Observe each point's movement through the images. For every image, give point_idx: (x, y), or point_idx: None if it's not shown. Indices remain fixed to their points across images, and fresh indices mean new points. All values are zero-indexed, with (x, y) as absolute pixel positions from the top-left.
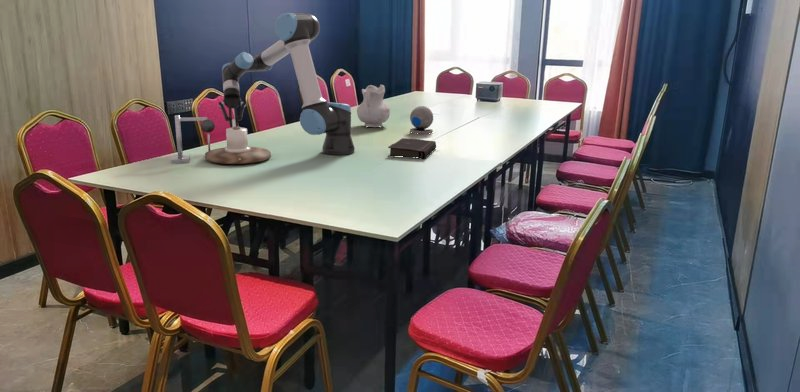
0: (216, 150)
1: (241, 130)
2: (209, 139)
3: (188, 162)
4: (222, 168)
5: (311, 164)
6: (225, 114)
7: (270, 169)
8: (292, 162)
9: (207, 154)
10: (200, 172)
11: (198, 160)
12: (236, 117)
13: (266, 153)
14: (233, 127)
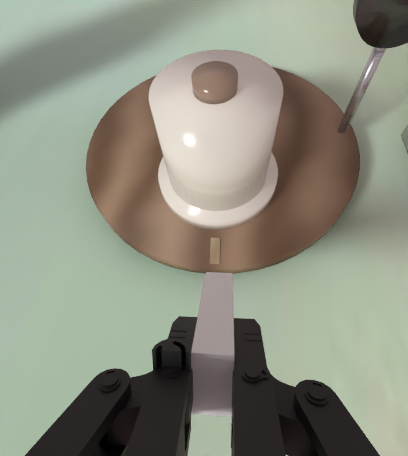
0: (316, 199)
1: (190, 57)
2: (359, 80)
3: (404, 134)
4: (274, 66)
5: (22, 73)
6: (353, 450)
7: (146, 47)
8: (60, 95)
9: (345, 136)
10: (332, 43)
11: (374, 159)
12: (171, 346)
13: (114, 121)
14: (235, 69)
